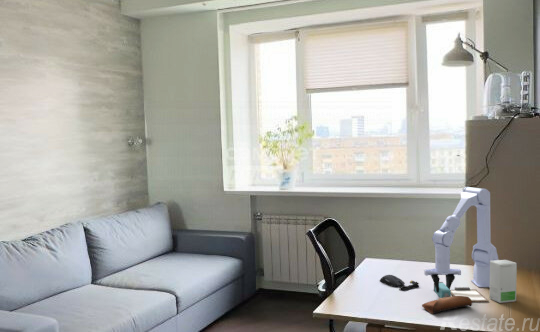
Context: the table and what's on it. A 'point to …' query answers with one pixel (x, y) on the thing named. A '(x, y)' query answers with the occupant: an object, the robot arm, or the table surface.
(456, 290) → the clipboard
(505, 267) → the skincare box
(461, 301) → the sunglasses case
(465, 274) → the table surface
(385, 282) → the computer mouse
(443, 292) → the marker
